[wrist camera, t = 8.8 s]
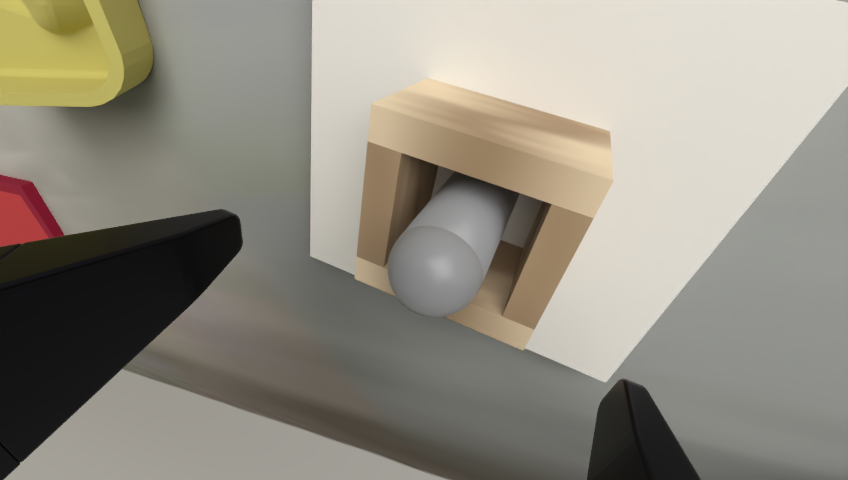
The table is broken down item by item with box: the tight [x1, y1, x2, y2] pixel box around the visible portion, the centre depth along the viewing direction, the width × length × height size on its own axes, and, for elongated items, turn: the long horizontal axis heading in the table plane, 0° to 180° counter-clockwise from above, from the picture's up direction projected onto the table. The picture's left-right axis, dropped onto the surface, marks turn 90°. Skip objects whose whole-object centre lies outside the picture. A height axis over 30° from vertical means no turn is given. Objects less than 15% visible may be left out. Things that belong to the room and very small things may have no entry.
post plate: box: [310, 0, 848, 383], centre depth 12 cm, size 15×14×8 cm
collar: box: [354, 78, 614, 350], centre depth 12 cm, size 6×6×4 cm
